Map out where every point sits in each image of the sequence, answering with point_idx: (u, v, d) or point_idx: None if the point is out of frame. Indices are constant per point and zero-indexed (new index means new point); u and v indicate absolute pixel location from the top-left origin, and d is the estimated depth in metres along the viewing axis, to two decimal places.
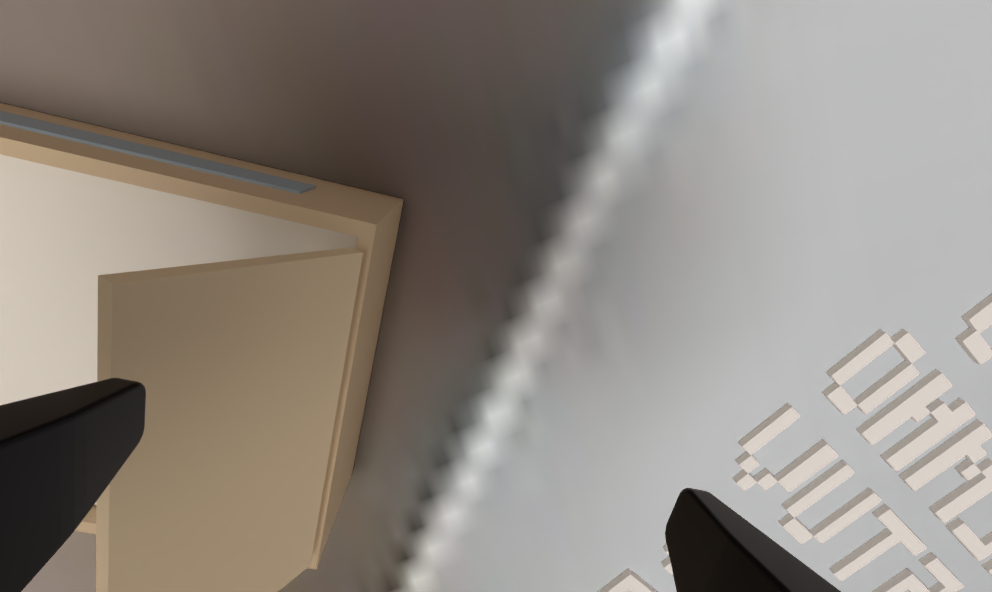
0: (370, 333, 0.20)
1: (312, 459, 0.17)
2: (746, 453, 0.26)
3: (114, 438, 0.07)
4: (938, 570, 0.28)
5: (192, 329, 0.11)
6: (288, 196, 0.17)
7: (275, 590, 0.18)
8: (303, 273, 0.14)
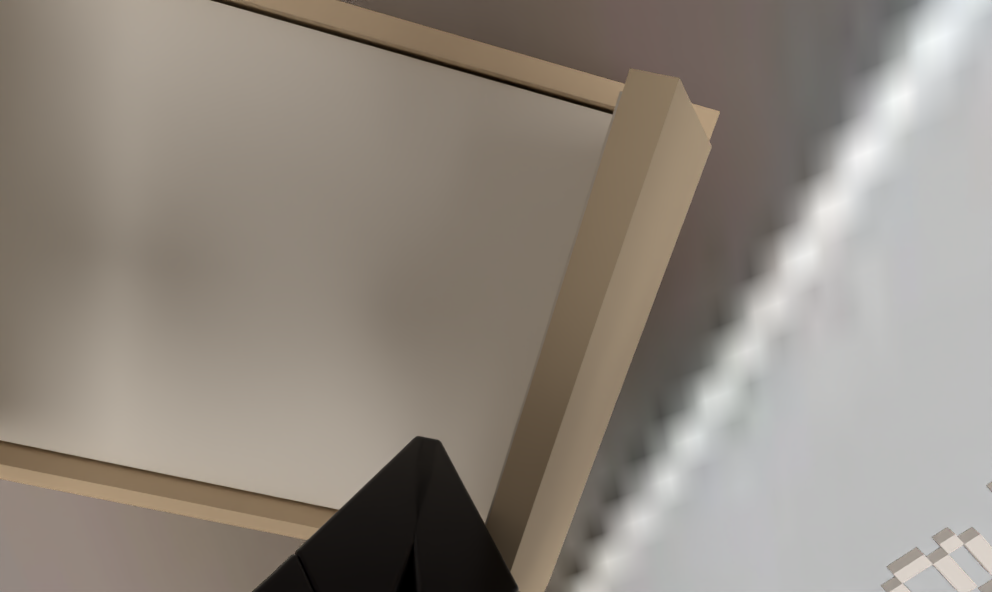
0: None
1: (599, 440, 0.12)
2: None
3: None
4: None
5: (655, 209, 0.07)
6: None
7: None
8: (697, 156, 0.09)
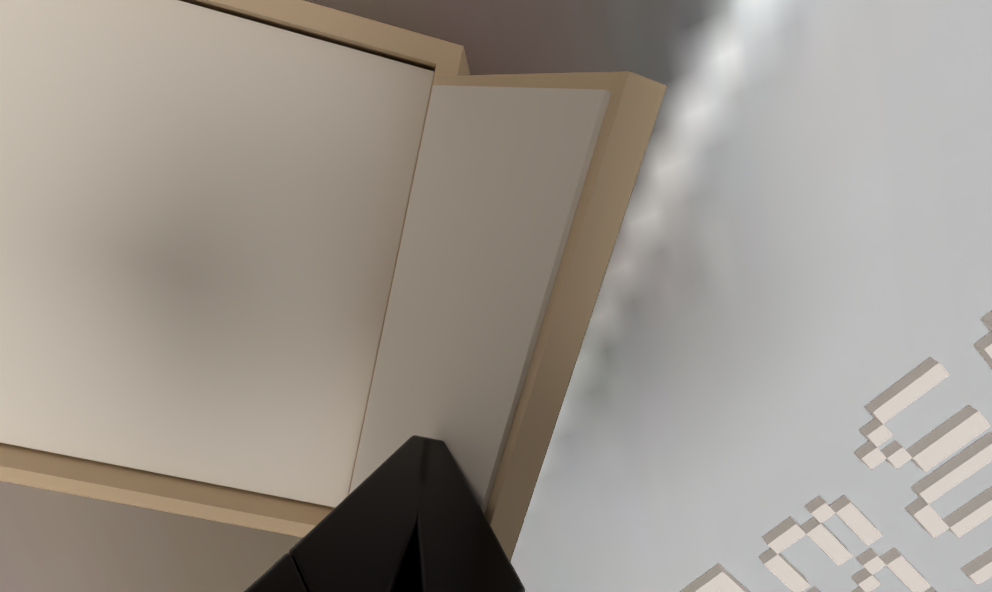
0: None
1: None
2: (875, 422, 0.21)
3: None
4: None
5: None
6: None
7: None
8: None
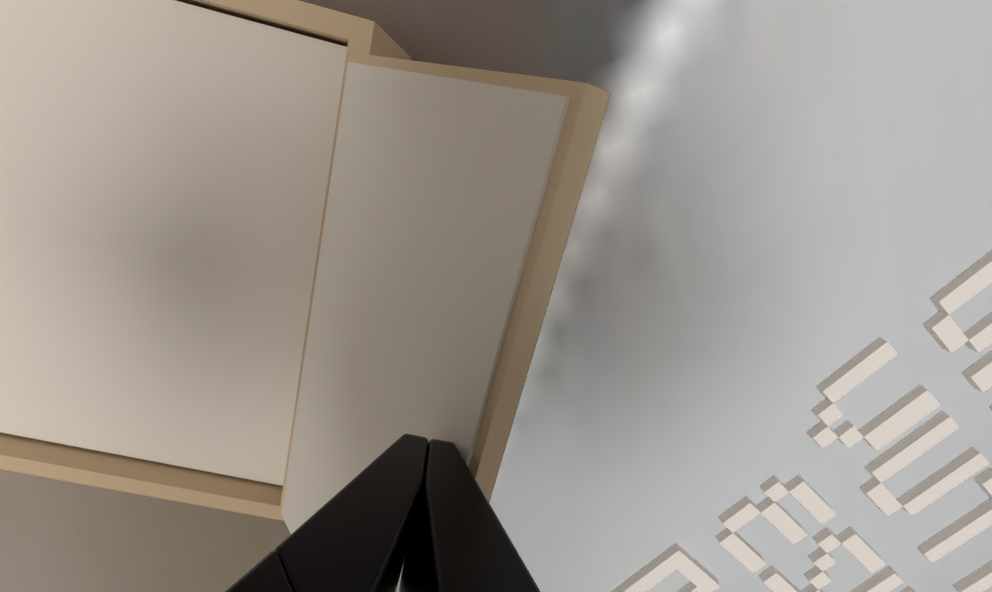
0: None
1: None
2: (826, 401, 0.21)
3: None
4: None
5: None
6: None
7: None
8: None
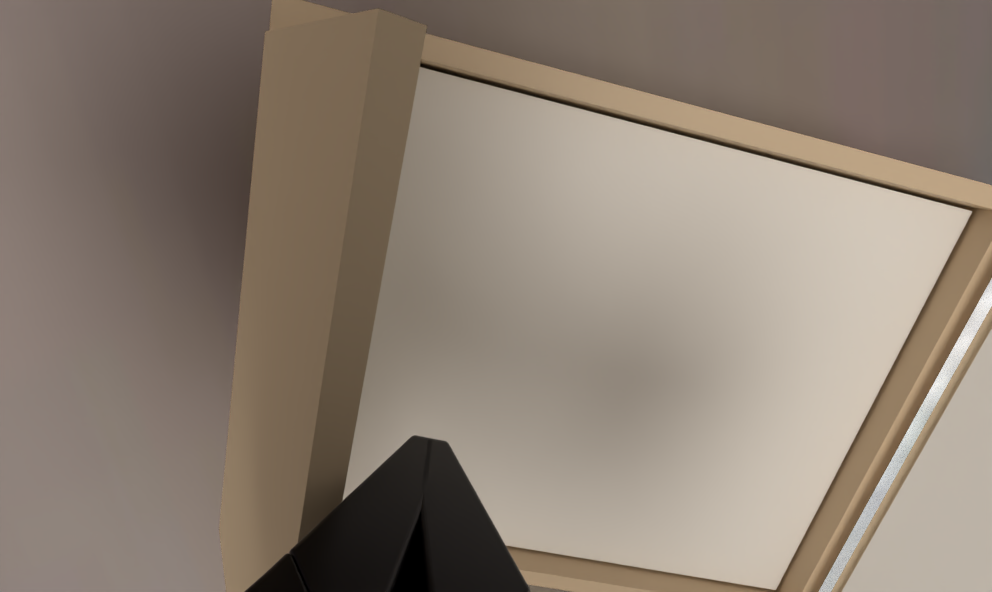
0: None
1: None
2: None
3: None
4: None
5: None
6: None
7: None
8: None
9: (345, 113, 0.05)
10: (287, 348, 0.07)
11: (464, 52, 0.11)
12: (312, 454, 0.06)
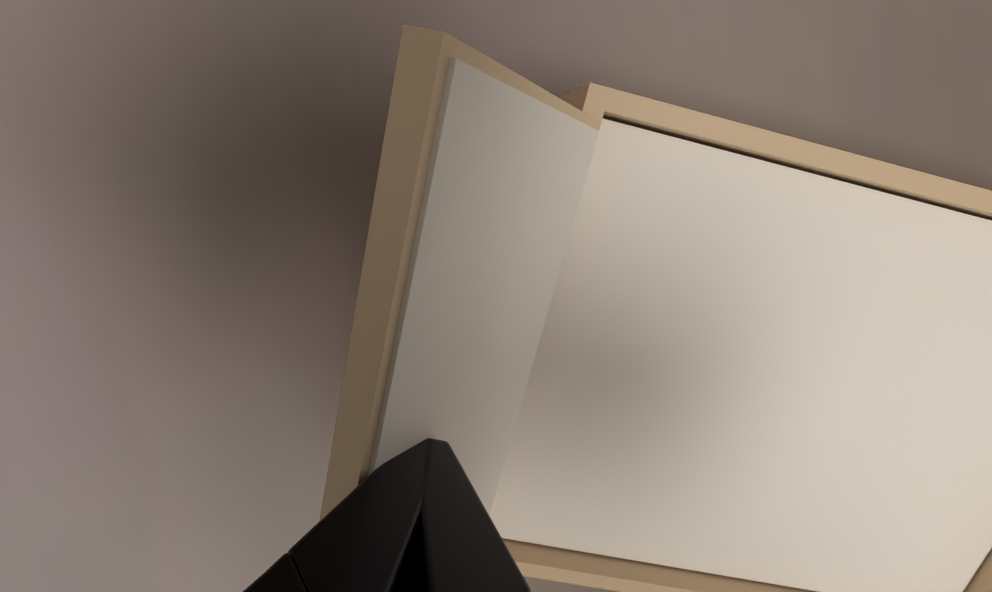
0: None
1: None
2: None
3: None
4: None
5: None
6: None
7: None
8: None
9: None
10: None
11: (751, 133, 0.12)
12: (334, 435, 0.07)
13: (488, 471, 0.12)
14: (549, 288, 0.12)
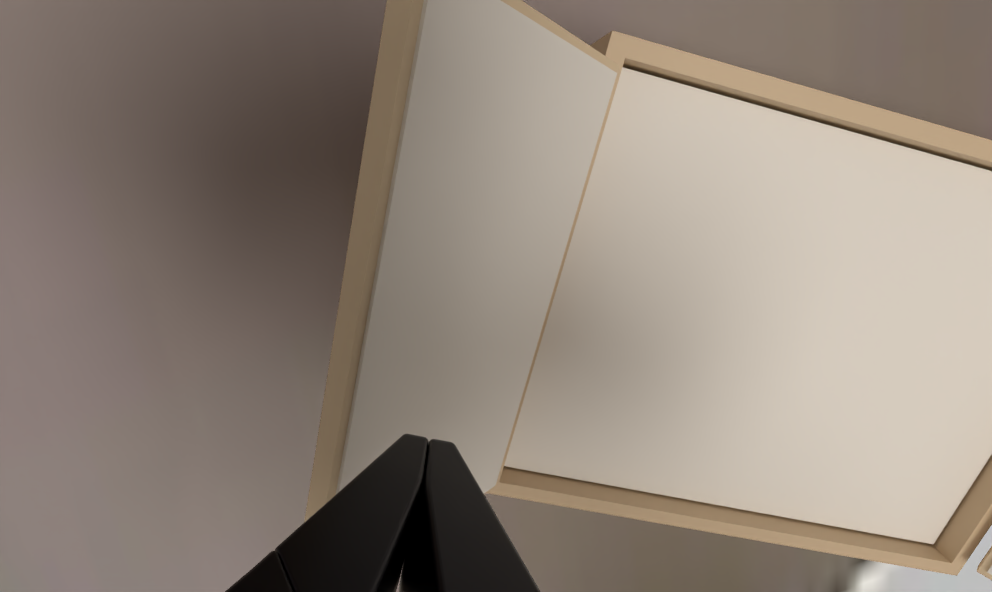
0: None
1: None
2: None
3: None
4: None
5: None
6: None
7: None
8: None
9: None
10: None
11: (759, 80, 0.13)
12: (343, 279, 0.08)
13: (503, 387, 0.13)
14: (566, 219, 0.13)
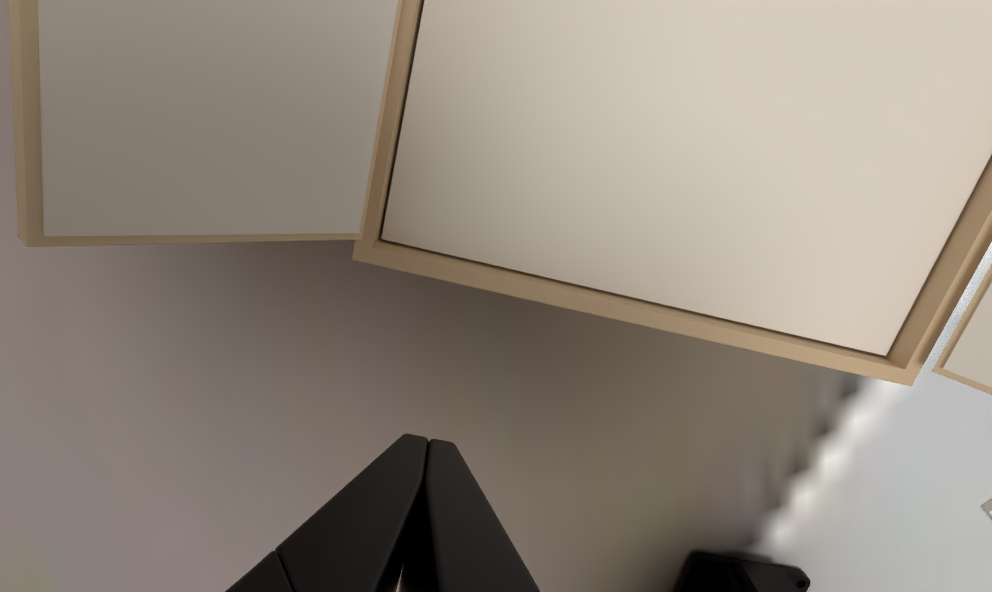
0: None
1: None
2: None
3: None
4: None
5: None
6: None
7: None
8: None
9: None
10: None
11: None
12: None
13: (342, 66, 0.11)
14: None
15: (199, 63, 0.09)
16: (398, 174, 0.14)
